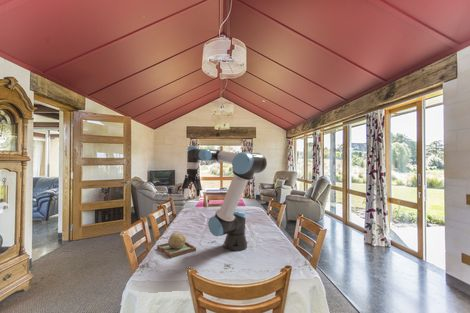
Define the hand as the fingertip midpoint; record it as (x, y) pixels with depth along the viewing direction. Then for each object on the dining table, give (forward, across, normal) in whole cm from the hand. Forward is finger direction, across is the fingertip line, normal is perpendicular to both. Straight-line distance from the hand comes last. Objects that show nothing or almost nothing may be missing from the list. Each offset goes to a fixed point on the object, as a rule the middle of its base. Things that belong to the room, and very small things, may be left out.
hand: (191, 199), depth 165 cm
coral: (+26, -11, +17) cm, 34 cm away
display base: (+28, -11, +17) cm, 34 cm away
